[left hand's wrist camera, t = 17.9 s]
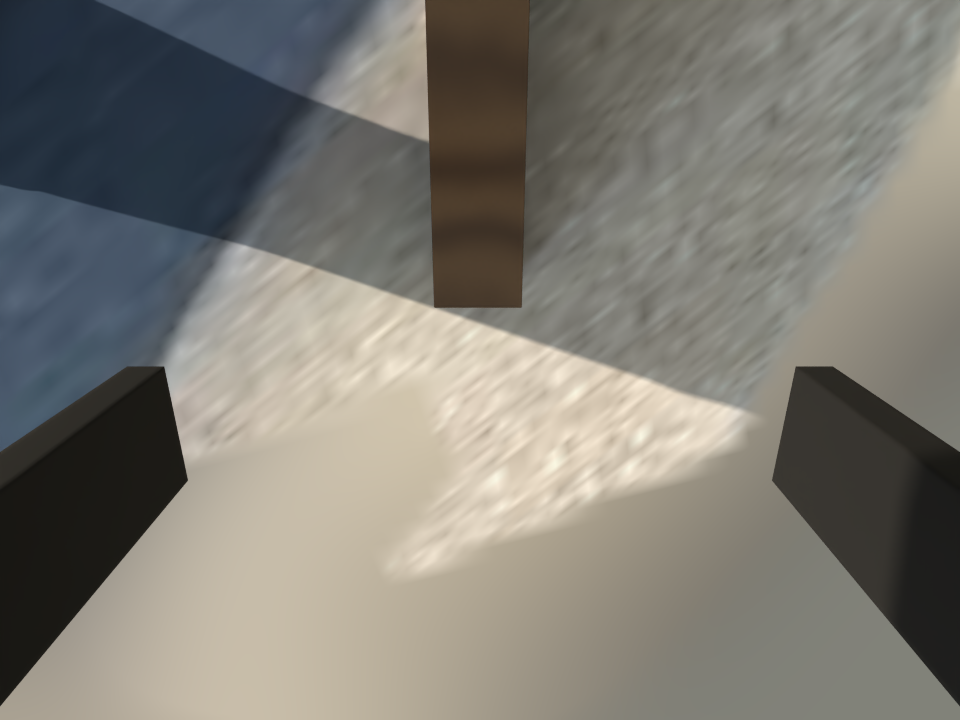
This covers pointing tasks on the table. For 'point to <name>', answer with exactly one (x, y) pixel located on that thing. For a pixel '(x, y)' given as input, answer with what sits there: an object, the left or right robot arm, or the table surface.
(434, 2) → the beam
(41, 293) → the table surface
